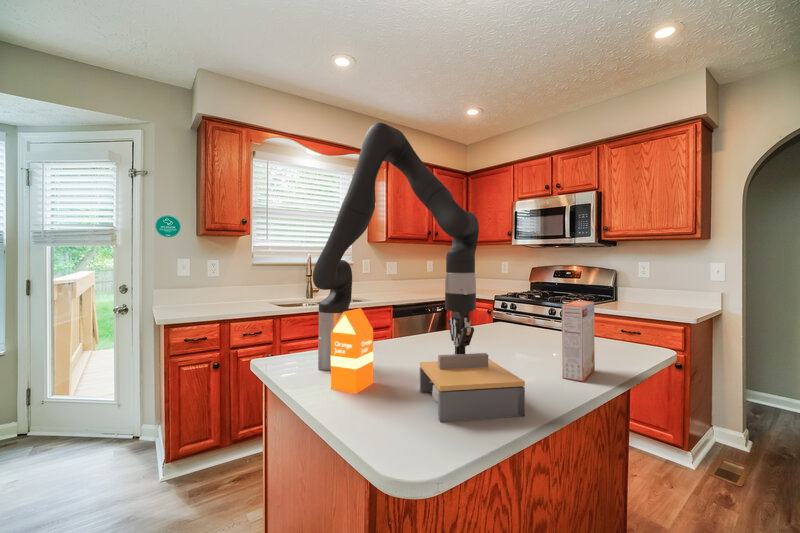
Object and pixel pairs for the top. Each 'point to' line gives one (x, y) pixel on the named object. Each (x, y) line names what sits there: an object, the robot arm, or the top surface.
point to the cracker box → (578, 340)
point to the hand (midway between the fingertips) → (460, 361)
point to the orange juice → (352, 352)
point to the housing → (476, 402)
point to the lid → (468, 373)
